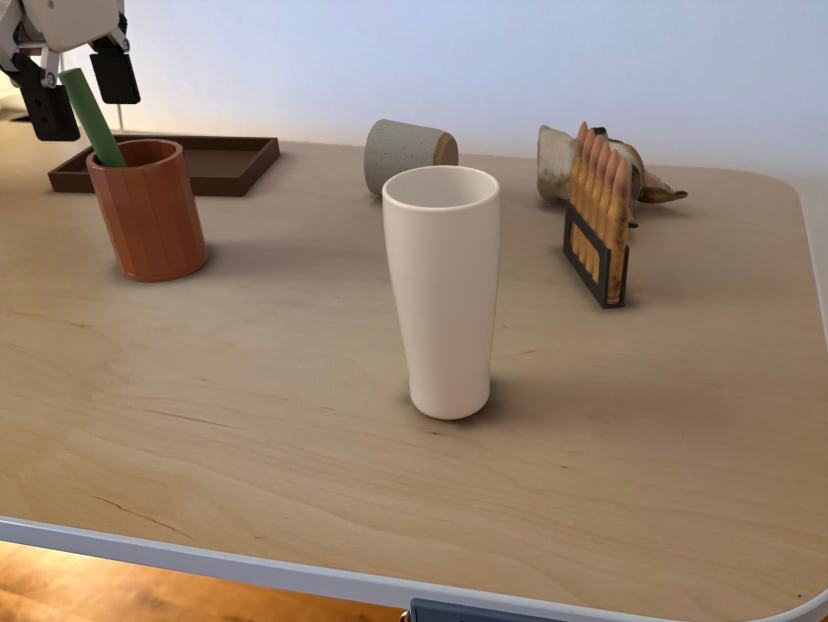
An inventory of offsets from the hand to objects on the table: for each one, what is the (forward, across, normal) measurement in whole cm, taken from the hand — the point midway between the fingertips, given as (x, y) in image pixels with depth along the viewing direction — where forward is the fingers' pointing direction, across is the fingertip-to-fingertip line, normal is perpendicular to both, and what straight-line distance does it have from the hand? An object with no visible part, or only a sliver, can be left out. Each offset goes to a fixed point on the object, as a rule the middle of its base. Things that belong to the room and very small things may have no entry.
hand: (93, 120), depth 60 cm
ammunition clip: (+13, 0, +41) cm, 43 cm away
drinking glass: (+13, +18, +31) cm, 38 cm away
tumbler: (+13, 0, +3) cm, 13 cm away
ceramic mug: (+13, -18, +23) cm, 32 cm away
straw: (+12, 0, +1) cm, 12 cm away
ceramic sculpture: (+13, -14, +42) cm, 46 cm away
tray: (+13, -22, -6) cm, 26 cm away
